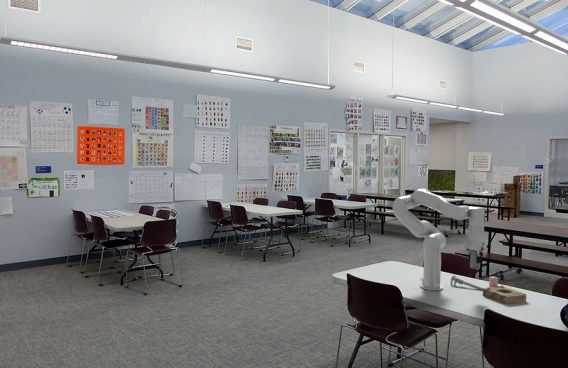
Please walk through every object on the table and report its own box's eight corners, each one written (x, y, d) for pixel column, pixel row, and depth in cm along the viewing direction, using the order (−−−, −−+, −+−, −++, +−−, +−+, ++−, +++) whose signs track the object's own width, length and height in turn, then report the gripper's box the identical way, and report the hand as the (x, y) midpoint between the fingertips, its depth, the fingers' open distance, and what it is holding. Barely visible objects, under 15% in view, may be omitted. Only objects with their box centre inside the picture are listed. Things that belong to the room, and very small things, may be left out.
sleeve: (468, 267, 242) (468, 249, 242) (474, 266, 244) (475, 248, 243) (474, 269, 238) (475, 251, 237) (481, 268, 239) (482, 250, 239)
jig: (482, 295, 243) (483, 286, 243) (501, 292, 248) (501, 284, 248) (506, 304, 228) (507, 295, 228) (526, 301, 233) (526, 292, 233)
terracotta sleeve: (487, 290, 252) (487, 276, 252) (492, 289, 254) (493, 276, 253) (493, 292, 248) (493, 278, 248) (499, 291, 250) (499, 278, 249)
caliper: (450, 285, 263) (450, 274, 263) (451, 284, 264) (451, 274, 264) (486, 291, 250) (486, 281, 250) (486, 291, 251) (487, 280, 251)
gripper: (459, 227, 246) (458, 259, 247) (483, 232, 230) (481, 266, 231) (470, 226, 249) (468, 258, 250) (494, 231, 233) (492, 265, 234)
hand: (475, 261), depth 241 cm, fingers closed on sleeve, 5 cm apart
